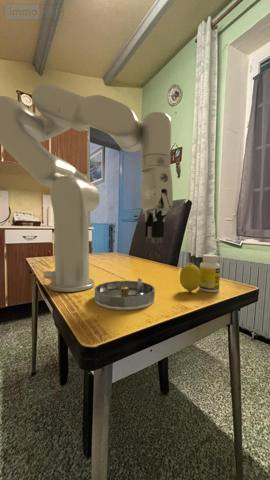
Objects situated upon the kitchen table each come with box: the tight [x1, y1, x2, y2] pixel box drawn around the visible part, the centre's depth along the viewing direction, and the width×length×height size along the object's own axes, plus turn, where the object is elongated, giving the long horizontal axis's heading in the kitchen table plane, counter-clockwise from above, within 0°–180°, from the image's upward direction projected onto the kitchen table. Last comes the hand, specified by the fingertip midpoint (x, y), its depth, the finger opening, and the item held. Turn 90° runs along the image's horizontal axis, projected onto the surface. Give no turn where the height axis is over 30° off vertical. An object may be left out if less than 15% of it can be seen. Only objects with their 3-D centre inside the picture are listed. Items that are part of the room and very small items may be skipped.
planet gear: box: [145, 227, 163, 244], centre depth 57 cm, size 4×4×4 cm
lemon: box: [179, 262, 201, 293], centre depth 58 cm, size 6×6×8 cm
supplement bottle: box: [198, 254, 221, 293], centre depth 61 cm, size 5×5×10 cm
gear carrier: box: [94, 277, 156, 312], centre depth 52 cm, size 14×14×5 cm
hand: (154, 236), depth 57 cm, fingers closed on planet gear, 3 cm apart
